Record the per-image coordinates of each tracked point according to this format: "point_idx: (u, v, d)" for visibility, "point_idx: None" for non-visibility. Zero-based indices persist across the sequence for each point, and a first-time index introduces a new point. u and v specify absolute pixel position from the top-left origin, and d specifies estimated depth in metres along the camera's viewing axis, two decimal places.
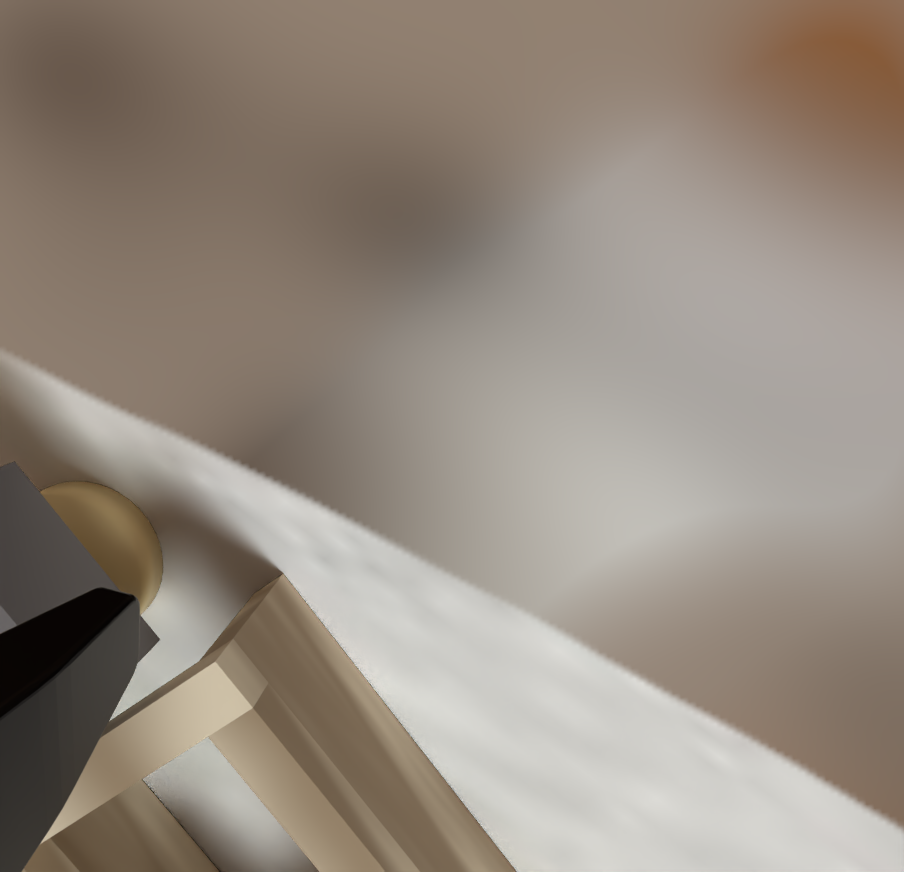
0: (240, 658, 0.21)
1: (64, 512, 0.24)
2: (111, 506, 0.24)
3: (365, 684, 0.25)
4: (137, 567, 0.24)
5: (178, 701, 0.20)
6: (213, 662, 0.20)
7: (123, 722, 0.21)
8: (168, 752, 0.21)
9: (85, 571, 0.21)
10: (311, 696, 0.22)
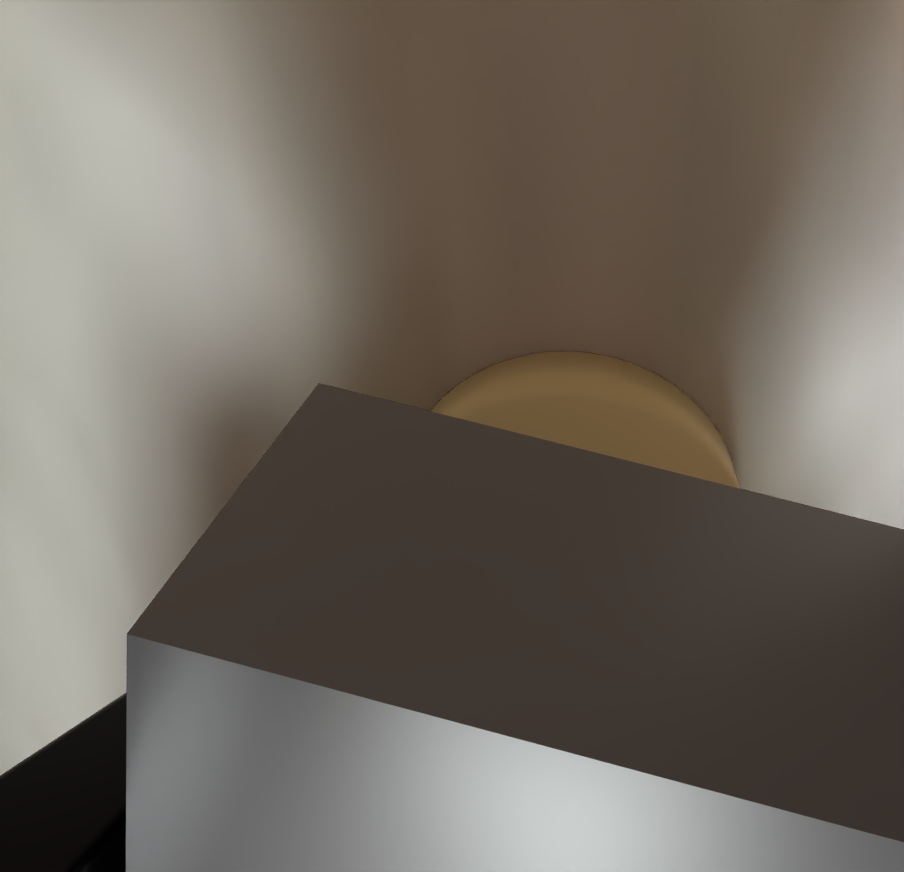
0: None
1: None
2: None
3: None
4: None
5: None
6: None
7: None
8: None
9: None
10: None
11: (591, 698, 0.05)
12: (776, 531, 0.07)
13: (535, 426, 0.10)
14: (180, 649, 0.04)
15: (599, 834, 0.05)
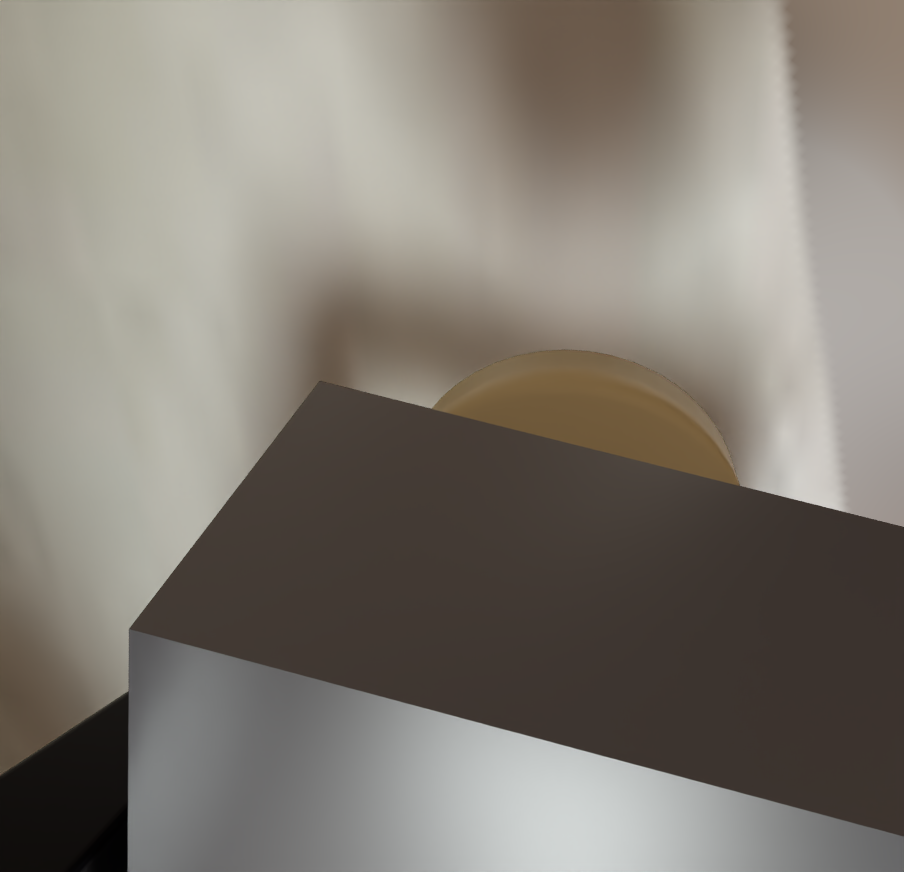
0: None
1: None
2: None
3: None
4: None
5: None
6: None
7: None
8: None
9: None
10: None
11: (591, 692, 0.05)
12: (774, 527, 0.07)
13: (534, 423, 0.10)
14: (182, 644, 0.04)
15: (598, 828, 0.05)
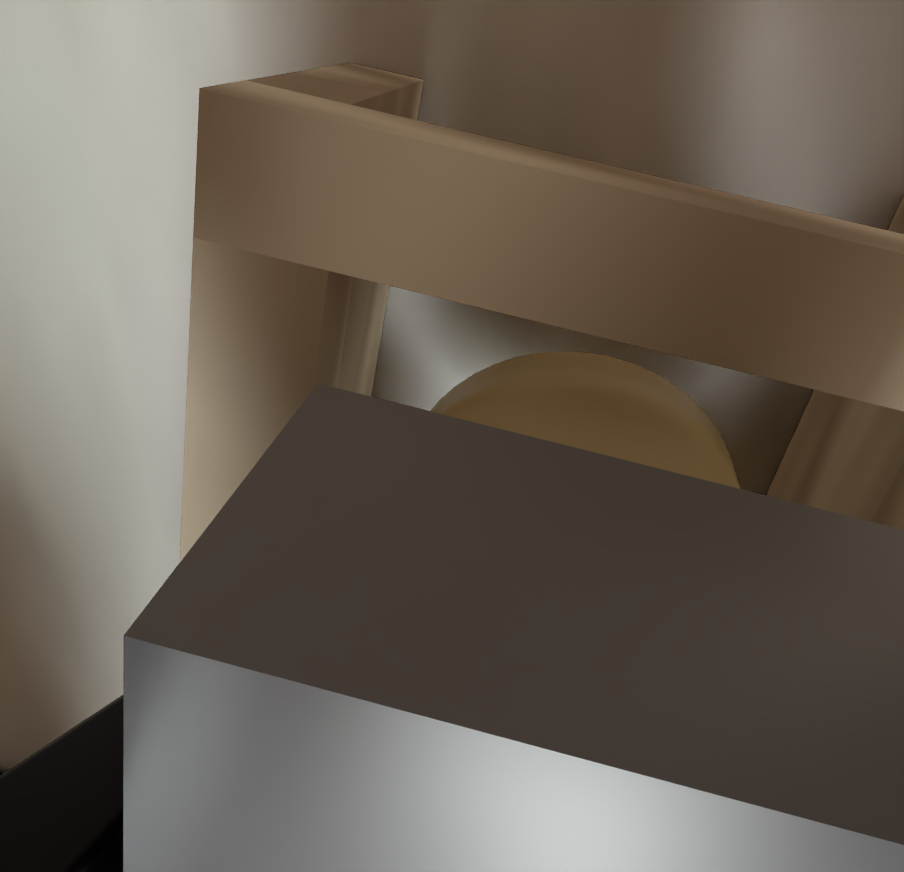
0: None
1: None
2: None
3: None
4: None
5: None
6: None
7: (888, 250, 0.08)
8: (883, 384, 0.08)
9: None
10: None
11: (591, 700, 0.05)
12: (776, 531, 0.07)
13: (534, 426, 0.10)
14: (177, 651, 0.04)
15: (596, 836, 0.05)
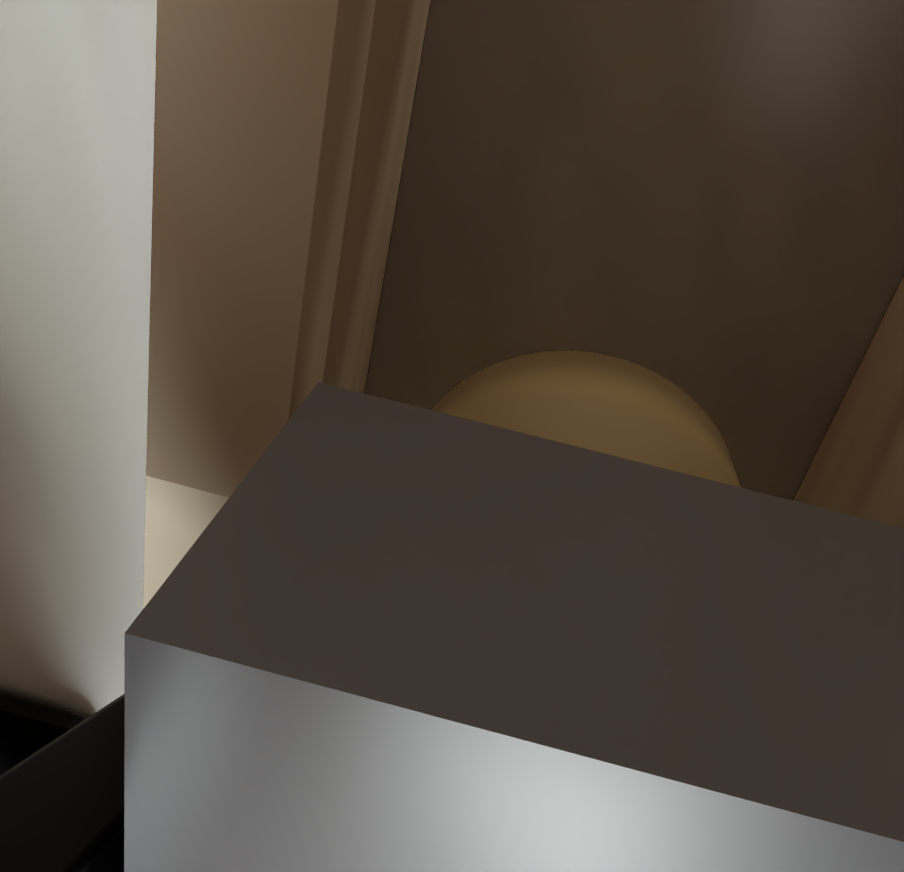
0: None
1: None
2: None
3: None
4: None
5: None
6: None
7: None
8: None
9: None
10: None
11: (592, 698, 0.05)
12: (776, 529, 0.07)
13: (534, 424, 0.10)
14: (178, 648, 0.04)
15: (598, 833, 0.05)
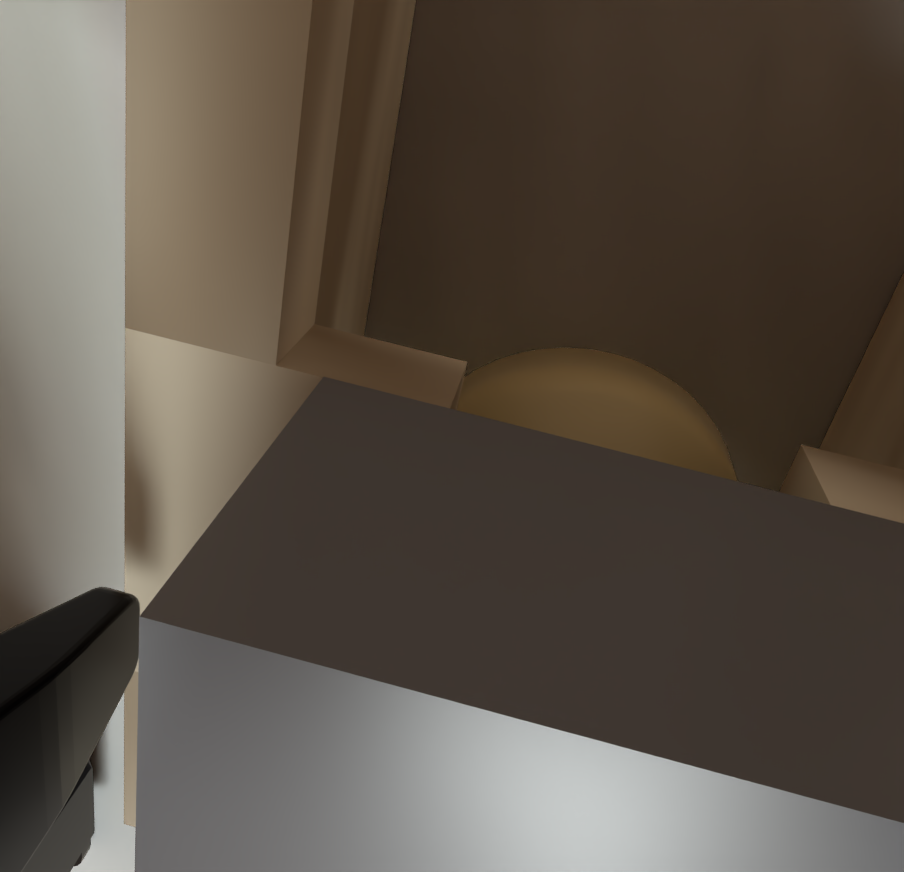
0: None
1: None
2: None
3: None
4: None
5: None
6: None
7: None
8: None
9: None
10: None
11: (591, 681, 0.05)
12: (771, 522, 0.07)
13: (535, 420, 0.10)
14: (191, 631, 0.05)
15: (597, 813, 0.05)
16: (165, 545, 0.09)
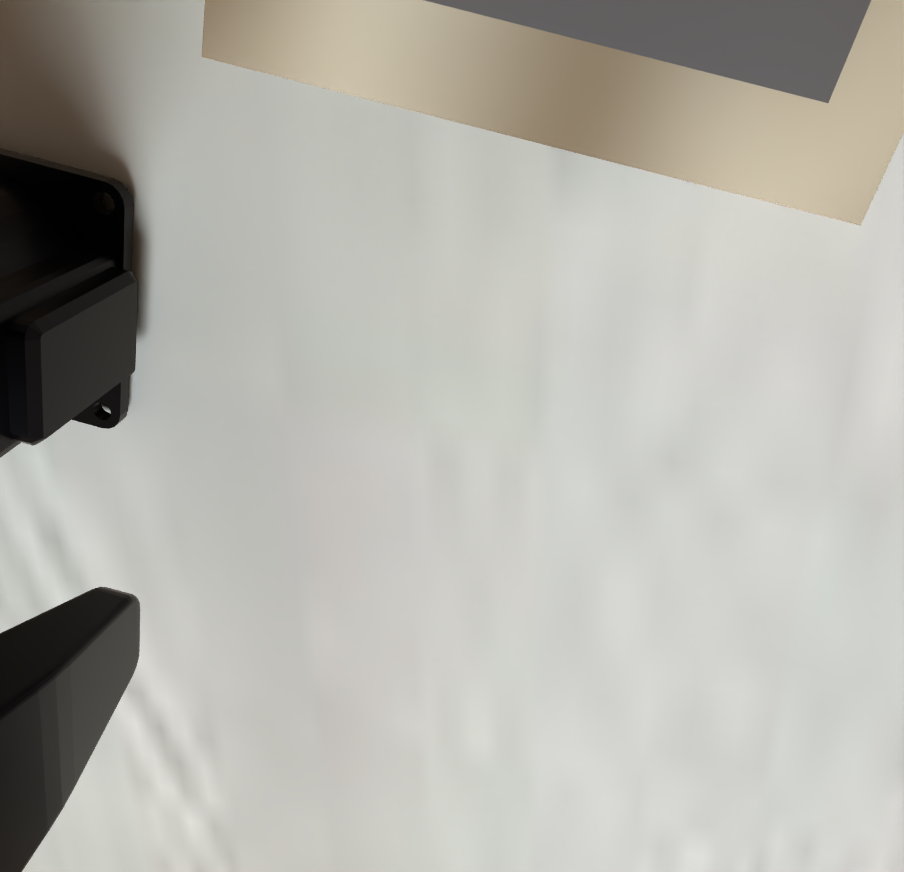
0: None
1: None
2: None
3: None
4: None
5: None
6: None
7: None
8: None
9: None
10: None
11: None
12: None
13: None
14: None
15: None
16: None
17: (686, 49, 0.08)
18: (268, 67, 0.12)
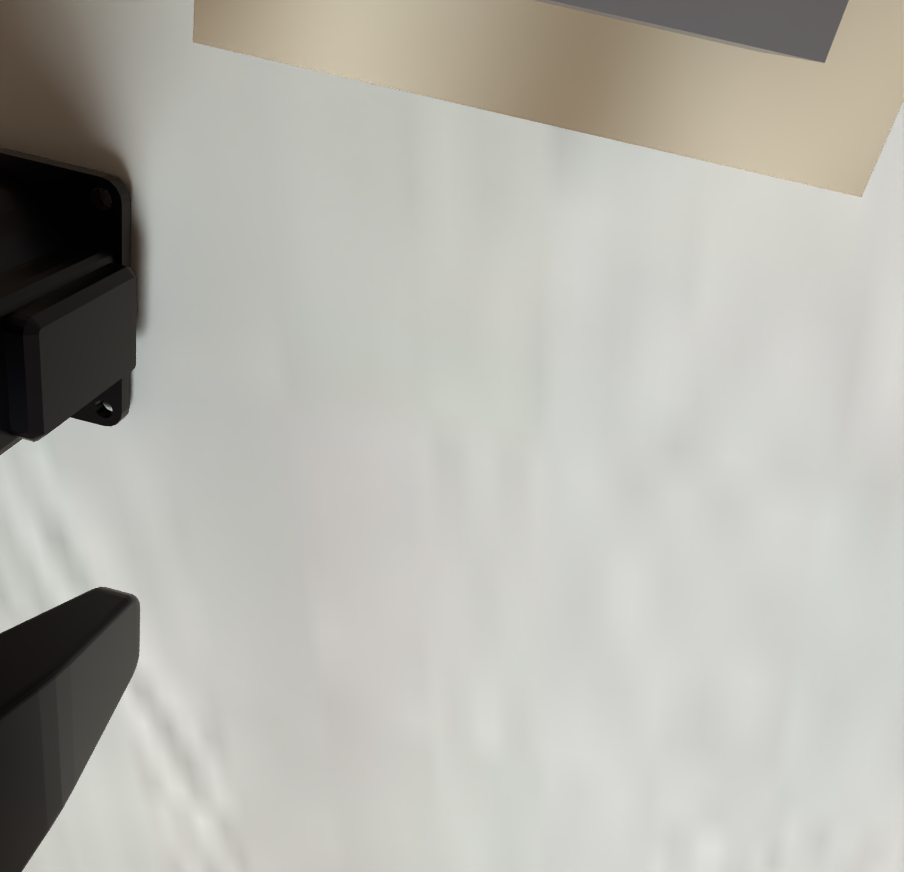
0: None
1: None
2: None
3: None
4: None
5: None
6: None
7: None
8: None
9: None
10: None
11: None
12: None
13: None
14: None
15: None
16: None
17: (679, 10, 0.08)
18: (260, 51, 0.12)
